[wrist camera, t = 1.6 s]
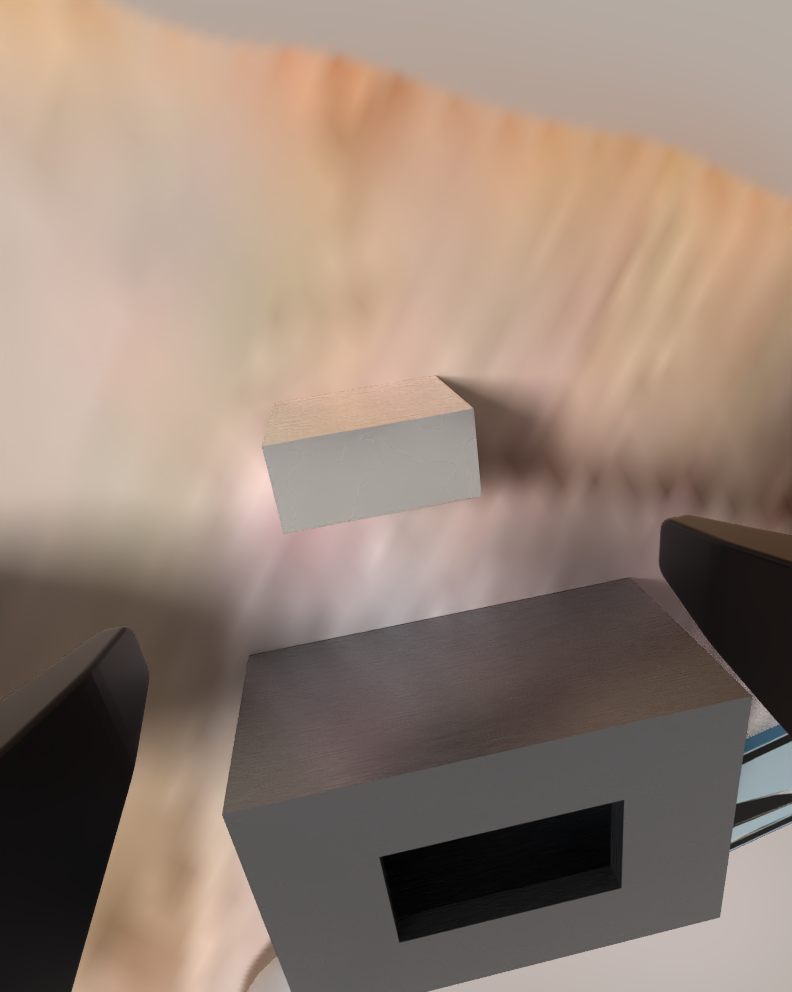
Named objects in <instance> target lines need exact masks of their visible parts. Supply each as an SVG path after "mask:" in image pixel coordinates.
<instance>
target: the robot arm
mask: <svg viewBox="0 0 792 992" xmlns="http://www.w3.org/2000/svg"><path fill="white" fill-rule="evenodd" d="M659 566H660V570H661V572H662V574H663V576H664V578H665V579H666V581H667V582H668V583H669V585H670V586H671V588H672V589H673V591H674V592H675V594H676V595H677V596H678V598H679V599H680V601H681V602H682V604H683V605H684V607H685V608H686V609H687V611H688V612H689V614H690V615H691V617H692V618H693V620H694V621H695V622H696V624H697V625H698V627H699V628H700V630H701V631H702V632H703V634H704V635H705V637H706V638H707V639H708V641H709V642H710V643H711V645H712V646H713V647H714V648H715V649H716V651H717V652H718V653H719V654H720V656H721V657H722V658H723V659H724V660H725V661H726V663H727V664H728V665H729V666H730V667H731V668H732V669H733V671H734V672H735V673H736V674H737V675H738V676H739V678H740V679H741V680H742V681H743V682H744V683H745V685H746V686H747V687H748V688H749V689H750V690H751V692H752V693H753V694H754V695H755V696H756V697H757V699H758V700H759V701H760V702H761V703H762V704H763V705H764V707H765V708H766V709H767V710H768V711H769V712H770V714H771V715H772V716H773V717H774V718H775V719H776V721H777V722H778V723H779V724H780V725H781V726H782V728H783V729H784V730H785V731H786V732H787V733H788V735H789V736H790V737H791V738H792V536H791V535H786V534H781V533H776V532H771V531H766V530H761V529H756V528H751V527H746V526H741V525H736V524H731V523H726V522H721V521H716V520H711V519H706V518H701V517H696V516H691V515H683V516H678V517H673V518H669V519H666V520H665V521H664V522H663V523H662V525H661V530H660V549H659ZM148 684H149V670H148V666H147V663H146V660H145V658H144V655H143V653H142V650H141V648H140V645H139V643H138V640H137V638H136V635H135V633H134V631H133V630H132V629H131V628H130V627H128V626H119V627H114V628H109V629H104V630H102V631H100V632H98V633H97V634H95V635H94V636H93V637H91V638H90V639H88V640H87V641H85V642H84V643H83V644H81V645H80V646H78V647H77V648H76V649H74V650H73V651H71V652H70V653H68V654H67V655H66V656H64V657H63V658H61V659H60V660H58V661H57V662H56V663H54V664H53V665H51V666H50V667H49V668H47V669H46V670H44V671H43V672H41V673H40V674H39V675H37V676H36V677H34V678H33V679H31V680H30V681H29V682H27V683H26V684H24V685H23V686H22V687H20V688H19V689H17V690H16V691H14V692H13V693H12V694H10V695H9V696H7V697H6V698H5V699H3V700H2V701H0V992H71V991H72V988H73V984H74V981H75V977H76V973H77V970H78V966H79V963H80V959H81V956H82V952H83V949H84V945H85V942H86V938H87V935H88V931H89V928H90V924H91V920H92V917H93V913H94V910H95V906H96V903H97V899H98V896H99V892H100V889H101V885H102V882H103V878H104V875H105V871H106V868H107V864H108V860H109V857H110V853H111V850H112V846H113V843H114V839H115V836H116V832H117V829H118V825H119V822H120V818H121V815H122V811H123V807H124V804H125V800H126V797H127V793H128V790H129V786H130V783H131V779H132V775H133V771H134V767H135V762H136V757H137V751H138V745H139V739H140V733H141V726H142V720H143V714H144V708H145V702H146V696H147V690H148Z"/></svg>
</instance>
